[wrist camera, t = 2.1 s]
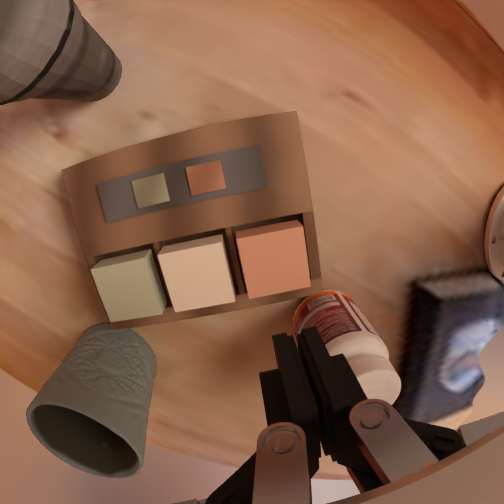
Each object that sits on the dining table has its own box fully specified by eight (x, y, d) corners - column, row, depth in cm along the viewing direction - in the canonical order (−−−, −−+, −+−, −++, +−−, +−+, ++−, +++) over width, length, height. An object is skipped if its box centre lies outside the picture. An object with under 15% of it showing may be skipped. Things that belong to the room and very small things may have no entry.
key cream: (222, 234, 22) (221, 242, 20) (234, 289, 24) (235, 301, 22) (163, 246, 22) (157, 255, 20) (179, 299, 24) (175, 312, 22)
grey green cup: (136, 305, 27) (90, 396, 15) (181, 385, 30) (167, 479, 18) (59, 329, 27) (4, 404, 16) (106, 398, 30) (76, 478, 19)
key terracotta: (297, 219, 22) (303, 226, 20) (304, 275, 24) (310, 286, 22) (235, 231, 22) (236, 239, 20) (247, 287, 24) (249, 299, 22)
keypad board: (289, 115, 22) (297, 110, 19) (314, 279, 27) (324, 295, 24) (76, 167, 22) (58, 170, 19) (121, 315, 27) (111, 332, 24)
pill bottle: (281, 336, 28) (305, 427, 18) (306, 279, 27) (349, 358, 16) (337, 347, 29) (378, 430, 19) (364, 295, 28) (423, 368, 17)
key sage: (150, 249, 22) (144, 257, 20) (167, 301, 24) (162, 314, 22) (100, 260, 22) (90, 269, 20) (118, 310, 24) (110, 322, 22)
